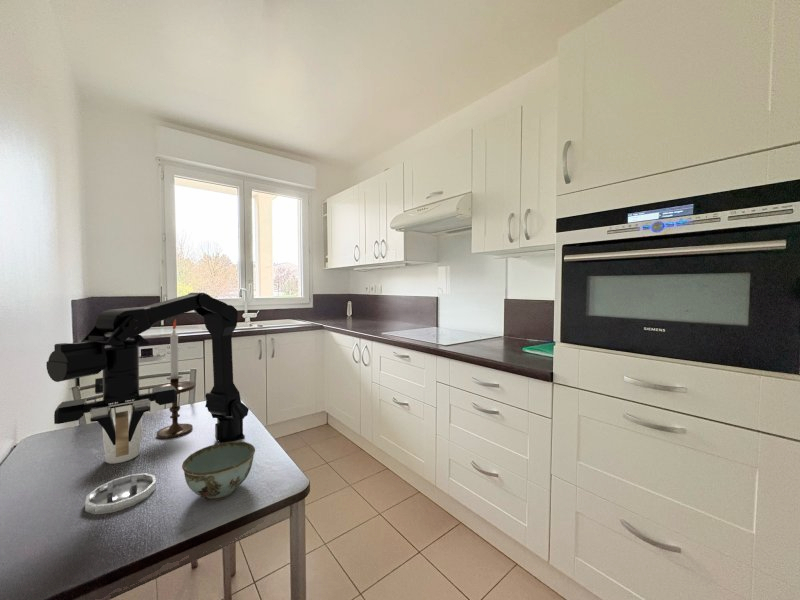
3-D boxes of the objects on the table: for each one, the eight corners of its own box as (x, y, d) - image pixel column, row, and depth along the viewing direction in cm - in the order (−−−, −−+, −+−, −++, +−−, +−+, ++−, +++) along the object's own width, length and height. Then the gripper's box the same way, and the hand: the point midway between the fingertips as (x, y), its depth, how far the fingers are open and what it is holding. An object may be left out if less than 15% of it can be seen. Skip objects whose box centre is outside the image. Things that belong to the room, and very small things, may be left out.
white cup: (118, 466, 78) (118, 426, 77) (94, 463, 79) (93, 424, 79) (150, 451, 85) (149, 414, 85) (126, 448, 87) (126, 412, 87)
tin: (153, 474, 74) (153, 464, 74) (157, 497, 66) (157, 485, 66) (88, 494, 67) (88, 482, 67) (83, 522, 59) (83, 509, 59)
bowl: (203, 523, 59) (202, 481, 58) (170, 498, 66) (169, 460, 66) (268, 485, 70) (267, 450, 70) (233, 467, 77) (233, 435, 77)
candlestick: (171, 424, 102) (170, 318, 102) (203, 425, 102) (203, 318, 101) (143, 440, 92) (141, 320, 91) (179, 441, 91) (177, 321, 91)
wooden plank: (128, 447, 68) (128, 410, 68) (128, 454, 65) (128, 416, 65) (116, 450, 67) (115, 412, 67) (115, 457, 64) (115, 418, 64)
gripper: (171, 357, 78) (172, 419, 78) (62, 369, 66) (63, 442, 66) (177, 365, 70) (177, 434, 70) (53, 380, 57) (54, 464, 58)
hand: (122, 442), depth 66 cm, fingers closed on wooden plank, 2 cm apart
